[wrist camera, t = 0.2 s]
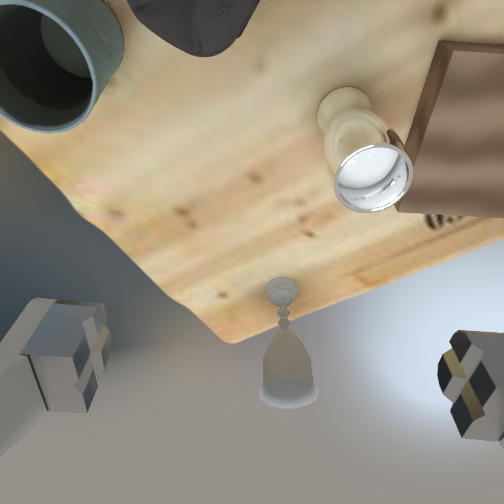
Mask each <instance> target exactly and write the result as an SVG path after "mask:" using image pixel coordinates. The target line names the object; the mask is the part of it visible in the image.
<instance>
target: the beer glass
mask: <svg viewBox="0 0 504 504" xmlns="http://www.w3.org/2000/svg"><path fill="white" fill-rule="evenodd" d="M317 124H318V127H319V129H320V131H321V132H322V134H323V135H324V136H325V138H324V163H325V167H326V171H327V174H328V177H329V180H330V182H331V184H332V187H333V189H334V191H335V194H336V196H337V198H338V200H339V201H340V202H341V203H342V204H343V205H344V206H345V207H347V208H348V209H350V210H353V211H356V212H361V213H372V212H377V211H381V210H384V209H386V208H388V207H390V206H392V205H394V204H395V203H396V202H398V201H399V200H400V199H401V198H402V197H403V196H404V195H405V193H406V192H407V191H408V189H409V187H410V185H411V182H412V179H413V165H412V162H411V160H410V158H409V156H408V154H407V152H406V149H405V147H404V145H403V143H402V141H401V139H400V138H399V136H398V134H397V133H396V132H395V130H394V129H393V128H392V126H391V125H390V124H389V123H387V122H386V121H385V120H384V119H383V118H381V117H380V116H379V115H377V114H376V113H374V112H372V106H371V103H370V100H369V98H368V97H367V95H366V94H365V93H364V92H362V91H361V90H359V89H357V88H353V87H342V88H338V89H336V90H334V91H332V92H330V93H329V94H328V95H327V96H326V97H325V98H324V99H323V100H322V102H321V103H320V105H319V108H318V111H317Z"/></svg>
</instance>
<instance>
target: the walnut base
mask: <svg viewBox="0 0 504 504" xmlns="http://www.w3.org/2000/svg"><path fill="white" fill-rule="evenodd" d="M405 149H406V152H407V154H408V156H409V158H410V160H411V162H412V165H413V179H412V182H411V185H410V187H409V189H408V191H407V192H406V193H405V195H404V196H403V197H402V198H401V199H400V200H399V201H398V202H396V203H395V204H394V205H395V207H396V209H397V212H404V213H422V214H440V215H458V216H476V217H494V218H504V45H494V44H479V43H465V42H450V41H438V45H437V48H436V51H435V54H434V57H433V60H432V63H431V66H430V70H429V73H428V76H427V79H426V82H425V85H424V88H423V91H422V95H421V98H420V101H419V104H418V107H417V110H416V113H415V116H414V120H413V123H412V126H411V129H410V132H409V135H408V138H407V141H406V145H405Z"/></svg>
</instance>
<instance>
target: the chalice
mask: <svg viewBox="0 0 504 504" xmlns="http://www.w3.org/2000/svg"><path fill="white" fill-rule="evenodd" d="M297 292H298V286H297V284H296V283H295V282H294V281H293V280H291V279H288V278H277V279H274V280H272V281H270V282H269V283H268V284H267V286H266V293H267V295H268V296H269V298H270V299H271V301H272V303H274V304H275V305H277V306H280V310H279V311H278V312H277V314H278V315H279V316H280V321H279V322H278V324H279V325H280V326H281V331H279V332H277V333H276V334H275V336H274V337H273V339H272V341H271V342H270V344H269V346H268V348H267V351H266V353H265V356H264V358H263V387H262V388H261V390H260V392H259V396H260V399H261V400H262V401H263V402H264V403H266V404H268V405H269V406H273V407H277V408H284V409H286V408H287V409H288V408H297V407H302V406H305V405H307V404H310V403H311V402H313V401H314V400H315V399H316V398H317V397H318V394H319V390H318V388H317V386H316V385H315V384H314V382H313V376H312V367H311V359H310V356H309V354H308V352H307V350H306V349H305V347H304V345H303V343H302V342H301V341H300V339H299V338H298V337H297V336H296V334H295V333H294V332H293V331H290V330H288V325H289V323H290V321H289V320H288V319H287V316H288V315H289V313H290V312H289V310H287V308H286V306H288V305H289V304H291V303H292V302H293V301H294V298H295V296H296V294H297Z"/></svg>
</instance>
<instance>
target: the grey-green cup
mask: <svg viewBox="0 0 504 504" xmlns="http://www.w3.org/2000/svg"><path fill="white" fill-rule="evenodd" d="M123 52H124V42H123V35H122V31H121V28H120V25H119V23H118V20H117V19H116V16H115V15H114V13H113V12H112V10H111V9H110V8H109V7H108V6H107V4H106V3H104V2H103V1H102V0H0V115H1V116H3V117H4V118H6V119H7V120H9V121H11V122H13V123H14V124H16V125H18V126H20V127H22V128H25V129H28V130H32V131H35V132H42V133H60V132H64V131H67V130H70V129H72V128H74V127H75V126H77V125H79V124H80V123H82V122H83V121H84V120H85V119H86V118H87V116H88V115H89V114H90V112H91V110H92V109H93V107H94V105H95V103H96V102H97V100H98V99H99V96H100V94H101V93H102V92H103V90H104V88H105V86H106V85H107V81H108V79H109V77H110V76H112V75H113V74H114V73H115V71H116V70H117V68H118V66H119V65H120V62H121V60H122V57H123Z"/></svg>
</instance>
